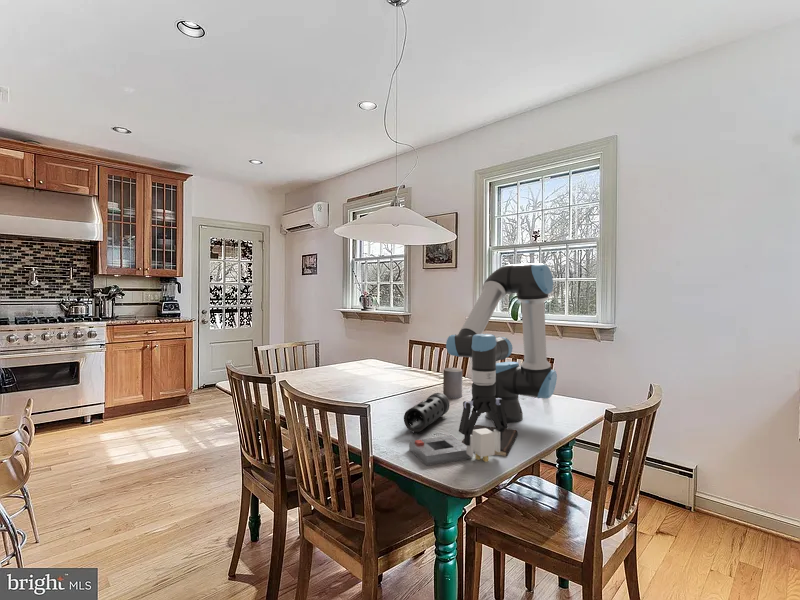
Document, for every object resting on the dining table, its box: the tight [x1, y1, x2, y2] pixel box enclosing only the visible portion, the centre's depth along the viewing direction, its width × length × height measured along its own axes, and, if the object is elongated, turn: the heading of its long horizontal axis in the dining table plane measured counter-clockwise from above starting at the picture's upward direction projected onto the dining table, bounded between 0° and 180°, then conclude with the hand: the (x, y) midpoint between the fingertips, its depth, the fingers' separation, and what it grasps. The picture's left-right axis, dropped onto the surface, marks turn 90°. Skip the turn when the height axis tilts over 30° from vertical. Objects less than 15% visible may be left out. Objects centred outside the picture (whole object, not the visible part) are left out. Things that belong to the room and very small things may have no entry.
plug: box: [473, 428, 496, 463], centre depth 138 cm, size 5×5×9 cm
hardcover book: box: [461, 424, 519, 457], centre depth 154 cm, size 16×23×2 cm
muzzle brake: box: [403, 392, 451, 435], centre depth 174 cm, size 10×28×10 cm, turn 154°
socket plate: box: [408, 435, 473, 467], centre depth 142 cm, size 16×14×4 cm
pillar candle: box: [442, 366, 463, 399], centre depth 219 cm, size 10×10×15 cm
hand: (483, 452), depth 138 cm, fingers open, 9 cm apart
